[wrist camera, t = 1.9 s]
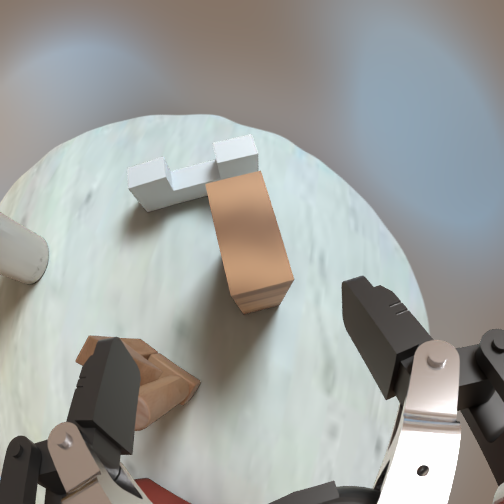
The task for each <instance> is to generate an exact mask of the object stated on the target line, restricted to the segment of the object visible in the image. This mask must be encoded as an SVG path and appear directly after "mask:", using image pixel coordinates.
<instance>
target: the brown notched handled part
mask: <svg viewBox="0 0 504 504" xmlns="http://www.w3.org/2000/svg"><path fill="white" fill-rule="evenodd" d="M108 338H113V337H103V336H88V338H87V340H86V342H85V344H84V346H83V347H82V349H81V351H80V353H79V355H78V357H77V359H76V363H78V364H80V365H82V366H83V365H84V364H85V362H86V361H87V359H88V358H89V357H90V355H93V353H94V350H95V347H96V344H97V342H98V341H99V340H102V339H108ZM120 339H121V341H122V342H123V344H124V346H125V347H126V349H127V350H128V352H129V353H130V355H131V356H132V358H133V359H134V361H135V362H136V364H137V366H138V368H139V371H140V376H141V381H140V388H139V396H138V404H137V412H136V421H135V431H139V430H142V429H145V428H146V427H148V426H149V425H150V424H152V423H153V422H155V421H156V420H157V419H159V418H160V417H162V416H163V415H164V414H166V413H167V412H168V411H170V410H171V409H172V408H174V407H175V406H176V405H178V404H181V405H184V404H186V403H187V402H188V401H189V400H190V399H191V397H192V396H193V394H194V393H195V391H196V390H197V388H198V386H199V385H200V383H201V381H200V380H198V379H197V378H195V377H194V376H192V375H191V374H189V373H188V372H186V371H185V370H183V369H182V368H180V367H179V366H177V365H176V364H174V363H173V362H172V361H170V360H169V359H167V358H166V357H164V356H163V355H162V354H160V353H158V352H157V351H156V350H155V349H153V348H152V347H151V346H149V345H148V344H147V343H145V342H144V341H143V340H141V339H129V338H120Z"/></svg>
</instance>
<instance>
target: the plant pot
mask: <svg viewBox="0 0 504 504" xmlns="http://www.w3.org/2000/svg"><path fill="white" fill-rule="evenodd" d="M135 482H136V483H137V485H138V486H139V487H140V489H141V490H142V491H143V492H144V494H145V495H146V496H147V497H148V499H149V500H150V501H151V502H152V503H153V504H191V503H189V502H187V501H185V500H183V499H182V498H180V497H178V496H176V495H175V494H173V493H171V492H170V491H168V490H166V489H165V488H163V487H161V486H160V485H158V484H157V483H155V482H153V481H152V480H150V479H148V478H142V479H135Z"/></svg>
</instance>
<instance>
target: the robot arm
mask: <svg viewBox="0 0 504 504" xmlns="http://www.w3.org/2000/svg"><path fill="white" fill-rule="evenodd" d="M48 257H49V251H48V246H47V243H46V241H45V239H43V238H42V237H41V236H39V235H37V234H36V233H34V232H32V231H31V230H29V229H27V228H26V227H24V226H22V225H21V224H19V223H17V222H16V221H14V220H12V219H11V218H9V217H7V216H6V215H4V214H3V213H1V212H0V275H3V276H6V277H8V278H11V279H14V280H17V281H20V282H23V283H26V284H32V283H35V282H36V281H38V280H39V279H40V278H41V276H42V275H43V273H44V271H45V269H46V266H47V263H48ZM342 314H343V321H344V325H345V328H346V330H347V332H348V334H349V336H350V337H351V339H352V341H353V342H354V344H355V346H356V348H357V349H358V351H359V353H360V355H361V356H362V358H363V360H364V362H365V363H366V365H367V367H368V369H369V371H370V372H371V374H372V376H373V378H374V379H375V381H376V383H377V385H378V387H379V388H380V390H381V392H382V394H383V396H384V398H385V399H386V400H388V399H390V398H392V397H394V396H396V397H397V398H398V400H399V402H400V404H399V407H398V411H397V415H396V419H395V423H394V427H393V431H392V434H391V438H390V441H389V444H388V448H387V451H386V454H385V457H384V459H383V462H382V464H381V467H380V469H379V472H378V475H377V477H376V480H375V483H374V485H373V488H372V489H371V488H366V487H358V486H340V487H336V485H335V482H334V481H331V482H328V483H325V484H322V485H318V486H315V487H311V488H308V489H304V490H300V491H296V492H293V493H291V494H289V495H287V496H285V497H282V498H280V499H278V500H276V501H273V502H271V503H269V504H446V503H447V499H448V496H449V492H450V488H451V484H452V480H453V475H454V471H455V466H456V460H457V455H458V449H459V442H460V436H461V424H460V422H457V421H456V412H457V411H459V410H460V411H461V413H462V414H463V416H464V418H465V420H466V422H467V423H468V425H469V427H470V429H471V431H472V432H473V435H474V436H475V438H476V440H477V442H478V444H479V446H480V448H481V450H482V452H483V454H484V456H485V458H486V460H487V462H488V464H489V466H490V468H491V471H492V473H493V475H494V477H495V479H496V481H497V483H498V486H499V487H498V489H497V491H496V493H495V496H494V500H493V504H504V330H501V329H492V330H489V331H487V332H486V333H485V334H484V335H483V336H482V339H481V341H480V343H479V344H477V345H472V346H467V347H462V348H454V347H453V346H452V345H451V344H449V343H447V342H444V341H441V340H433V339H432V338H431V336H430V335H429V334H428V333H427V331H426V330H425V329H424V328H423V327H422V325H421V324H420V323H419V322H418V321H417V319H416V318H415V317H414V316H413V315H412V314H411V312H410V311H408V310H407V308H406V307H405V305H404V304H403V303H401V301H400V300H399V298H398V297H397V296H396V295H395V294H394V293H393V292H392V291H390V290H388V289H386V288H385V287H383V286H381V285H379V286H376V287H373V286H372V285H371V283H370V282H369V281H368V280H367V279H366V278H365V277H364V276H360V277H356V278H353V279H350V280H347V281H343V282H342ZM79 378H80V379H79V380H78V383H77V386H76V387H77V389H75V392H74V396H73V399H72V403H71V406H70V410H69V414H68V417H67V421H66V422H64V423H61V424H59V425H57V426H56V427H55V428H54V429H53V430H52V431H51V433H50V435H49V437H48V440H45V441H42V442H38V443H35V444H34V443H33V442H31V441H30V440H29V439H28V438H27V437H25V436H17V437H15V438H14V439H13V440H12V441H11V442H10V443H9V445H8V448H7V451H6V455H5V460H4V464H3V469H2V474H1V480H0V504H35V501H36V491H37V483H38V484H39V485H41V486H43V487H44V488H46V493H45V504H153V503H152V502H151V501H150V500H149V499H148V497H147V496H146V495H145V494H144V492H143V491H142V490H141V489H140V487H139V486H138V485H137V483H136V482H135V480H134V479H133V478H132V476H131V475H130V474H129V472H128V471H127V469H126V468H125V466H124V465H123V464H122V463H121V462H120V455H132V453H133V441H134V431H135V421H136V412H137V404H138V396H139V388H140V381H141V376H140V371H139V368H138V366H137V364H136V362H135V361H134V359H133V358H132V356H131V355H130V353H129V352H128V350H127V349H126V347H125V346H124V344H123V342H122V341H121V339H120V338H118V337H113V338H108V339H102V340H99V341H98V342H97V344H96V347H95V350H94V353H93V355H90V357H89V358H88V359H87V361H86V362H85V364H84V365H83V367H82V370H81V373H80V376H79Z"/></svg>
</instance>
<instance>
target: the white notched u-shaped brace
mask: <svg viewBox="0 0 504 504" xmlns="http://www.w3.org/2000/svg"><path fill="white" fill-rule="evenodd" d="M212 144H213V148H214V152H215V156H216V159H215V160H211V161H207V162H203V163H199V164H195V165H192V166H188V167H184V168H181V169H177V170H174V171H170V169H169V167H168V165H167V163H166V161H165V159H164V157H160V158H157V159H154V160H151V161H147V162H144V163H141V164H138V165H135V166H132V167H129V168H127V177H128V189H129V190H130V192H131V193H132V194H133V195H134V197H135V198H136V199H137V200H138V201H139V203H140V204H141V205H142V206H143V207H144V209H145V210H146V211H147V212H150V211H154V210H157V209H161V208H164V207H168V206H171V205H175V204H178V203H182V202H186V201H189V200H193V199H197V198H200V197H204V196H208V194H207V190H206V185H205V184H207V183H211V182H215V181H219V180H223V179H227V178H231V177H235V176H240V175H244V174H248V173H253V172H257V171H258V152H257V149H256V146H255V143H254V140H253V137H252V134H251V135H246V136H241V137H237V138H232V139H228V140H224V141H219V142H215V143H212Z"/></svg>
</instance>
